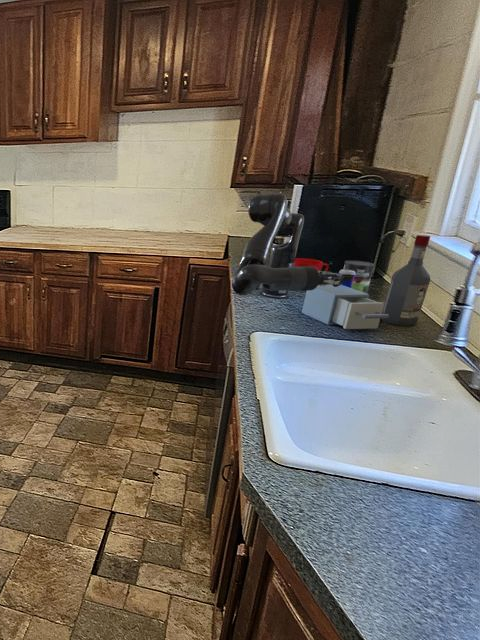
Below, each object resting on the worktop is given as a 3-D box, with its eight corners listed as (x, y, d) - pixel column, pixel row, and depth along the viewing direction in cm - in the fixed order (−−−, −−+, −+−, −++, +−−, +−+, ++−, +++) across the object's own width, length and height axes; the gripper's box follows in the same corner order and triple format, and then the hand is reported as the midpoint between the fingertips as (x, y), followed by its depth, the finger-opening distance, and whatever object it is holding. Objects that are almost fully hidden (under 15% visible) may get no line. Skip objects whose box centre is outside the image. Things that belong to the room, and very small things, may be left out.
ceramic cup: (332, 286, 235) (338, 264, 231) (294, 286, 235) (299, 263, 232) (317, 279, 247) (322, 258, 243) (280, 279, 247) (285, 258, 244)
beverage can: (347, 312, 197) (358, 272, 192) (332, 311, 198) (342, 271, 193) (342, 308, 202) (352, 269, 196) (327, 307, 203) (337, 268, 197)
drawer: (388, 333, 172) (396, 307, 168) (355, 334, 171) (363, 307, 167) (349, 316, 189) (355, 292, 185) (319, 317, 188) (324, 293, 184)
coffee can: (368, 301, 212) (377, 266, 207) (338, 298, 216) (347, 264, 210) (362, 295, 221) (371, 261, 216) (334, 292, 225) (342, 259, 219)
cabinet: (361, 323, 184) (369, 294, 180) (327, 324, 183) (334, 294, 179) (333, 312, 197) (340, 284, 193) (301, 312, 196) (307, 284, 192)
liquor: (376, 319, 188) (400, 234, 177) (392, 316, 192) (417, 233, 181) (403, 327, 181) (430, 238, 170) (419, 324, 184) (447, 236, 173)
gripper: (314, 271, 157) (369, 270, 158) (288, 262, 169) (338, 261, 170) (308, 296, 159) (362, 294, 161) (283, 285, 172) (333, 284, 173)
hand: (350, 277), depth 166 cm, fingers closed
